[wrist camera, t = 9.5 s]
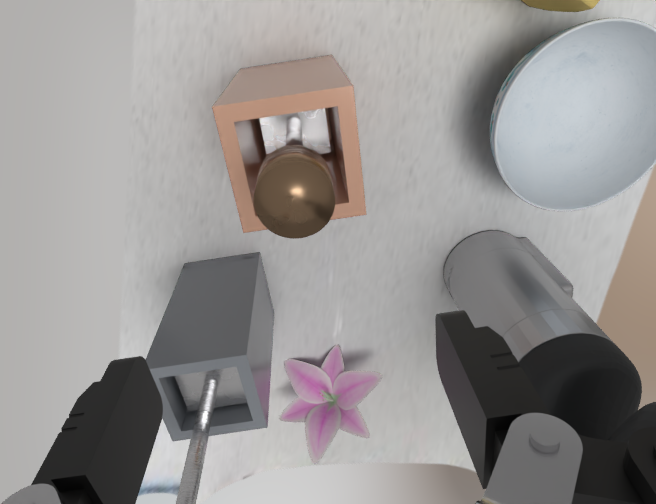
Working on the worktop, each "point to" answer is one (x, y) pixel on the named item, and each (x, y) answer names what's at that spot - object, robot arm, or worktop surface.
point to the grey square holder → (216, 341)
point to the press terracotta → (284, 98)
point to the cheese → (562, 5)
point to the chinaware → (579, 115)
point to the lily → (327, 400)
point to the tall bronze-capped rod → (204, 418)
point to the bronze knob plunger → (295, 175)
